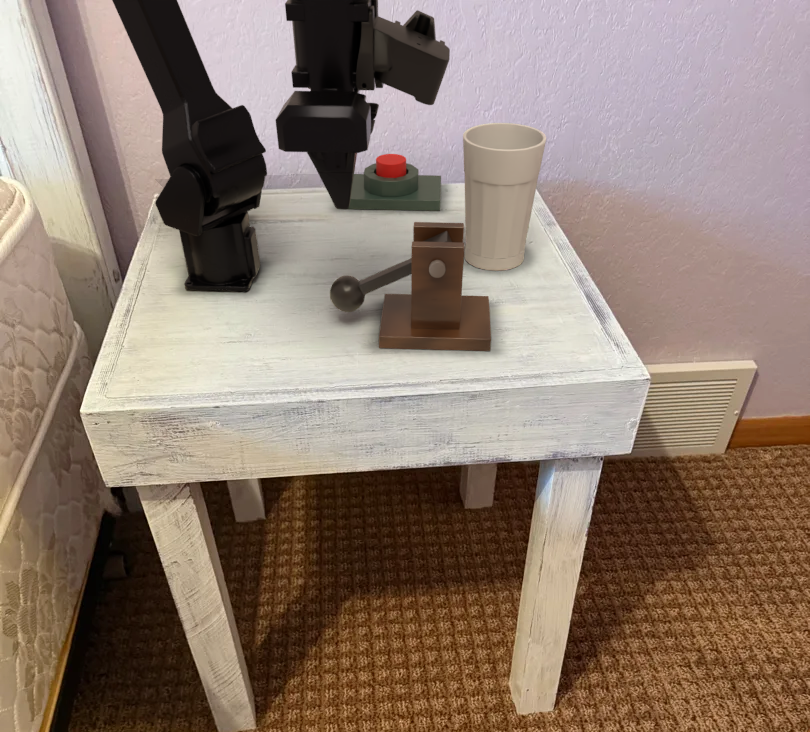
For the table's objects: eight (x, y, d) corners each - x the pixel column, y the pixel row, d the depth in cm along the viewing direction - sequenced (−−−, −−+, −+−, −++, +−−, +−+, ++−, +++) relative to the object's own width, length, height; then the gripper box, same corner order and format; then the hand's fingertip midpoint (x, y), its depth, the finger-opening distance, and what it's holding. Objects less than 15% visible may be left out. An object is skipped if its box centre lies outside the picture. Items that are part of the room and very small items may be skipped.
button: (375, 179, 90) (374, 164, 89) (377, 168, 93) (377, 153, 91) (405, 180, 90) (405, 164, 89) (406, 169, 93) (406, 153, 91)
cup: (528, 277, 78) (543, 153, 70) (451, 270, 79) (457, 147, 71) (534, 244, 84) (549, 125, 75) (462, 238, 85) (469, 120, 76)
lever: (338, 323, 70) (321, 294, 68) (342, 306, 72) (325, 277, 70) (459, 272, 66) (444, 239, 64) (459, 256, 68) (445, 223, 66)
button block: (339, 208, 91) (337, 182, 89) (346, 183, 96) (344, 158, 94) (439, 210, 90) (440, 184, 88) (440, 185, 96) (441, 160, 94)
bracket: (379, 348, 69) (376, 253, 62) (385, 304, 74) (383, 213, 68) (490, 351, 68) (498, 256, 62) (487, 307, 74) (495, 216, 68)
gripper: (443, 8, 46) (436, 258, 57) (446, -43, 59) (440, 168, 70) (260, 7, 46) (289, 255, 57) (304, -43, 60) (320, 166, 71)
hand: (342, 207), depth 64 cm, fingers closed
